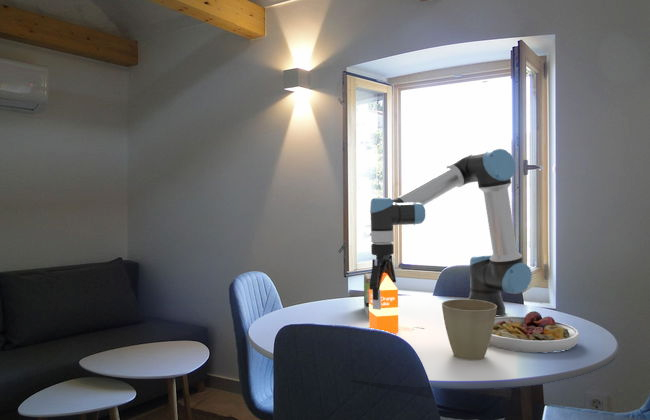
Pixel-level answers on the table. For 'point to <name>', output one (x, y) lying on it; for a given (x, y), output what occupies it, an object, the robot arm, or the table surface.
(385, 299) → the orange juice
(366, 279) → the tea box
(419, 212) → the robot arm
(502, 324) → the plate of food
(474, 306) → the plant pot
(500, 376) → the table surface
